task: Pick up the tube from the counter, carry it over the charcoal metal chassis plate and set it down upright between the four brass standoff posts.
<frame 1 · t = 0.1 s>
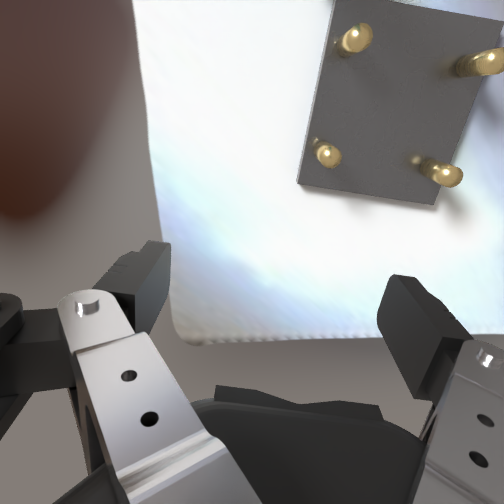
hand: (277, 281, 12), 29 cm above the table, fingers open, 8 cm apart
chassis: (386, 110, 37), on the table
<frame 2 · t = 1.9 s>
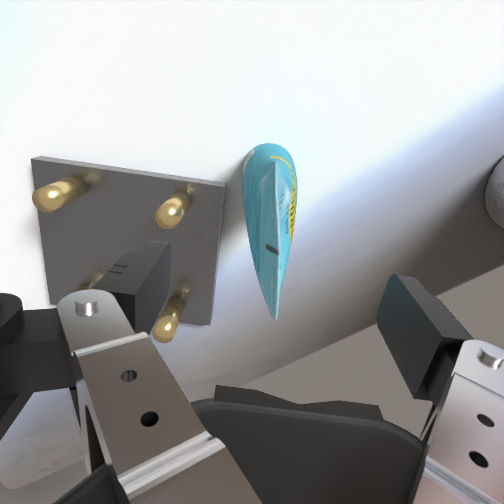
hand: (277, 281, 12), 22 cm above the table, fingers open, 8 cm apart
tube: (269, 167, 32), on the table
chassis: (134, 244, 36), on the table
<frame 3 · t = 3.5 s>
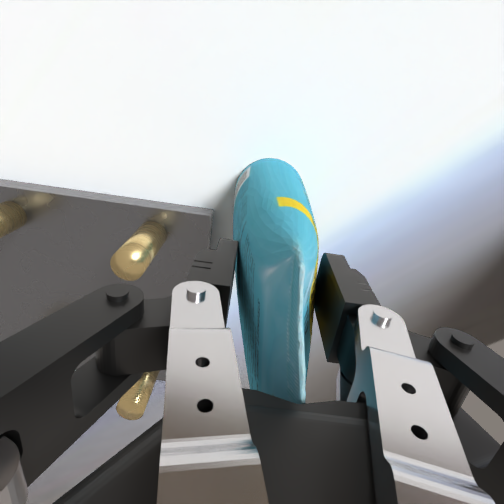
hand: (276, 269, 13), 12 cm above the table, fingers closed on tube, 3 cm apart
tube: (271, 190, 24), on the table, touching gripper
chassis: (96, 285, 28), on the table
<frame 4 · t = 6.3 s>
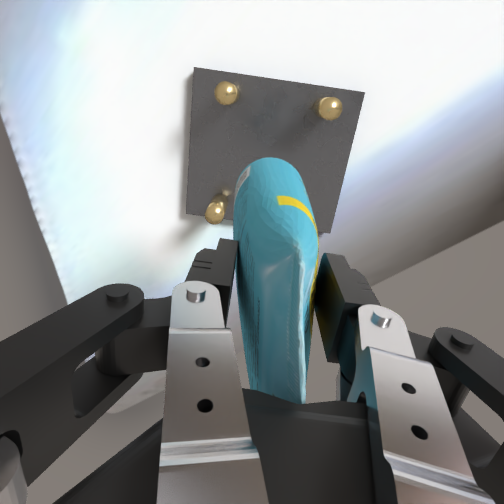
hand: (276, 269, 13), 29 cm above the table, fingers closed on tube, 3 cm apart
tube: (271, 189, 24), point 17 cm above the table, touching gripper
chassis: (268, 155, 40), on the table
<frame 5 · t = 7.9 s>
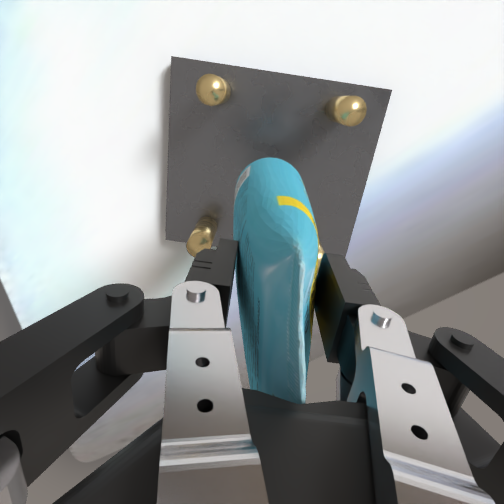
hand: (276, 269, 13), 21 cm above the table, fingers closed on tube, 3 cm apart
tube: (271, 189, 24), point 8 cm above the table, touching gripper
chassis: (267, 169, 32), on the table
when the fingers open (15 cm above the table, at t = 9.4 s): tube stays where it is, resting on chassis.
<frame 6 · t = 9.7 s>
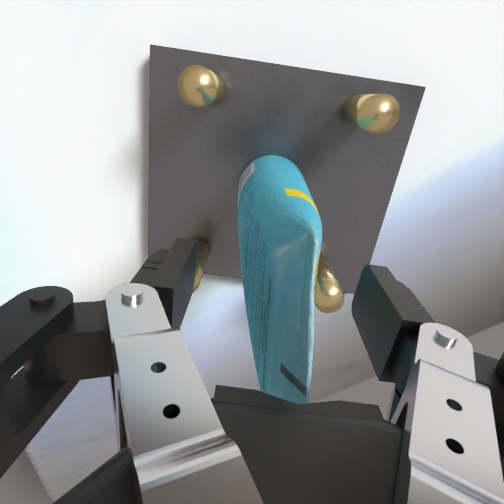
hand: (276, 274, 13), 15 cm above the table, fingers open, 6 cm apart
tube: (272, 186, 25), point 1 cm above the table, touching chassis
chassis: (269, 182, 27), on the table
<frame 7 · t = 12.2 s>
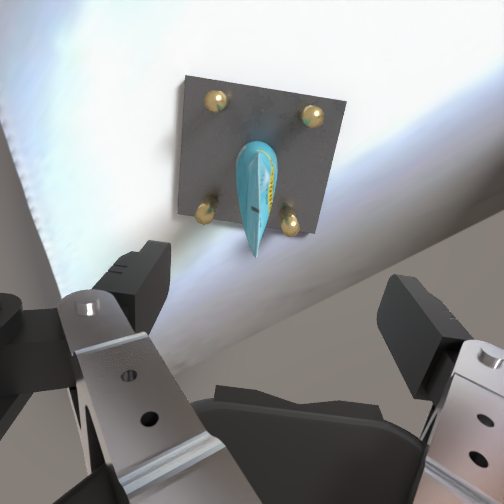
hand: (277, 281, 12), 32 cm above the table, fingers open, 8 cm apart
tube: (257, 161, 41), point 1 cm above the table, touching chassis
chassis: (256, 159, 42), on the table
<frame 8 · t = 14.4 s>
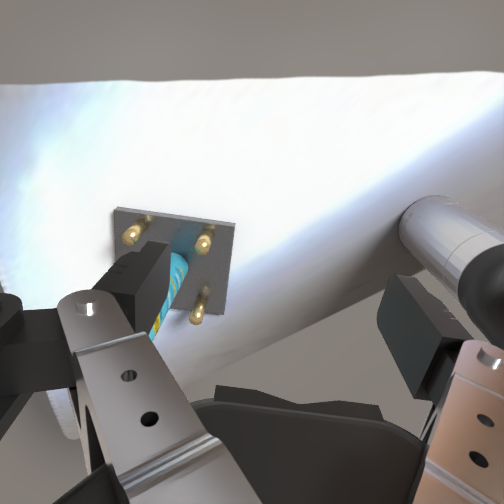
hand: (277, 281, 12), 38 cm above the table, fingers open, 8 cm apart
tube: (174, 265, 54), point 1 cm above the table, touching chassis
chassis: (174, 261, 55), on the table
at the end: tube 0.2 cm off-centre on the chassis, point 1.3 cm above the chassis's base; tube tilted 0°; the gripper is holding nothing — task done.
